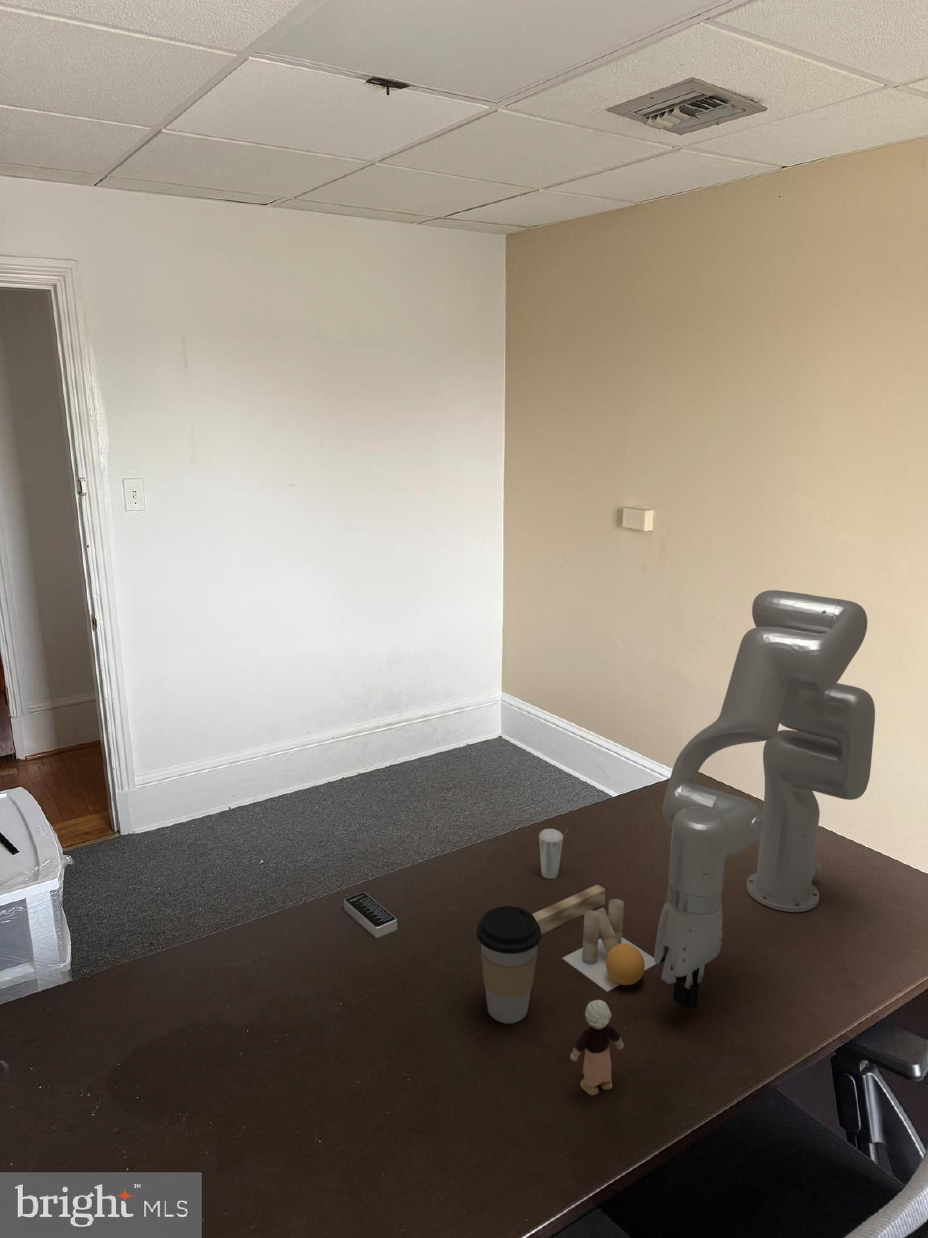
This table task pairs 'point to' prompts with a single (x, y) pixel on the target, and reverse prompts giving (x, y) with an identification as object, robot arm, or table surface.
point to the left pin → (590, 937)
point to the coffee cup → (508, 960)
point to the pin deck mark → (602, 965)
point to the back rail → (570, 908)
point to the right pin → (616, 917)
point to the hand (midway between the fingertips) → (685, 1003)
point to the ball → (625, 964)
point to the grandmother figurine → (596, 1048)
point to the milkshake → (550, 852)
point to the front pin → (606, 931)
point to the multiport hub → (370, 914)
